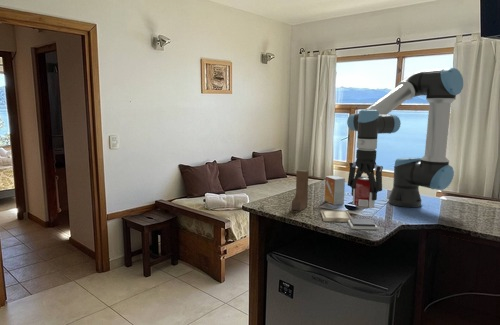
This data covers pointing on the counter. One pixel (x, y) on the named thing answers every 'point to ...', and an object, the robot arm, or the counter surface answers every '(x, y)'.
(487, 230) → the counter surface
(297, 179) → the wooden block
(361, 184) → the soda can
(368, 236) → the counter surface
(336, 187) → the small box
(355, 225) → the pad
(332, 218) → the board
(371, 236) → the counter surface
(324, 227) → the counter surface
